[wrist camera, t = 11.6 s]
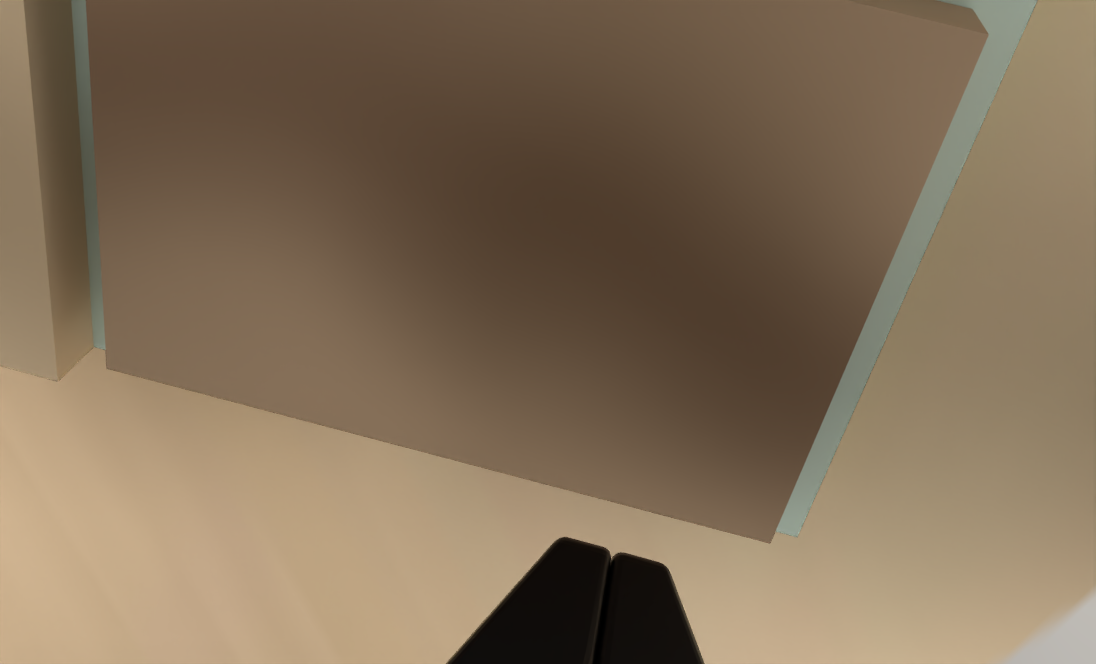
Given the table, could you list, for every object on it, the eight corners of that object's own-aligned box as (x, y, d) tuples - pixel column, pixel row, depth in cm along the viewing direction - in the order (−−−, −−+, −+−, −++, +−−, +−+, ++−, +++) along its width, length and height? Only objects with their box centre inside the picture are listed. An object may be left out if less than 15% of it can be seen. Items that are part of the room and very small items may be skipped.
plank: (769, 497, 13) (770, 543, 12) (140, 332, 13) (106, 368, 12) (972, 8, 9) (988, 34, 9) (122, -195, 10) (75, -185, 9)
